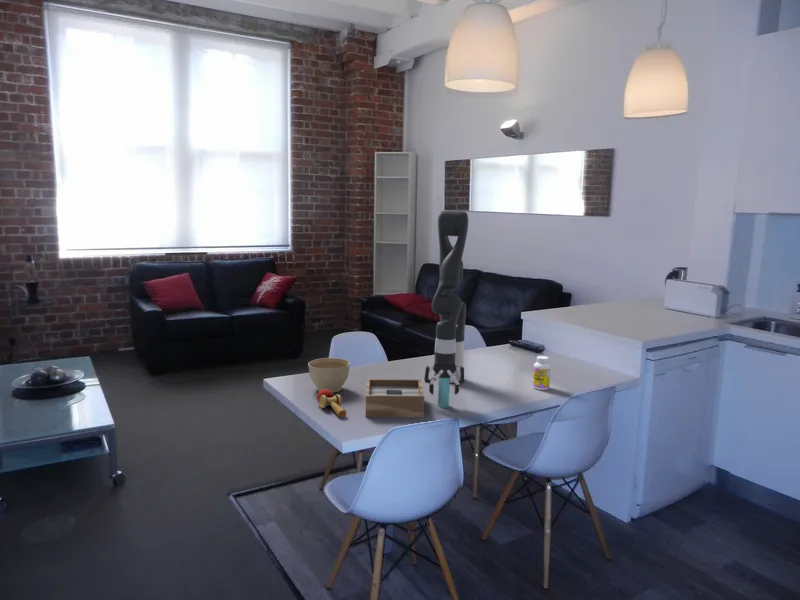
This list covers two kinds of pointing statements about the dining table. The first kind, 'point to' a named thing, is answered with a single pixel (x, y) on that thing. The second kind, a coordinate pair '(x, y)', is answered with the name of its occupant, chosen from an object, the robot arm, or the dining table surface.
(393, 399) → the bore box
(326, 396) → the kendama
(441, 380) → the peg
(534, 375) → the supplement bottle
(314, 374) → the planter bowl
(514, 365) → the dining table surface
